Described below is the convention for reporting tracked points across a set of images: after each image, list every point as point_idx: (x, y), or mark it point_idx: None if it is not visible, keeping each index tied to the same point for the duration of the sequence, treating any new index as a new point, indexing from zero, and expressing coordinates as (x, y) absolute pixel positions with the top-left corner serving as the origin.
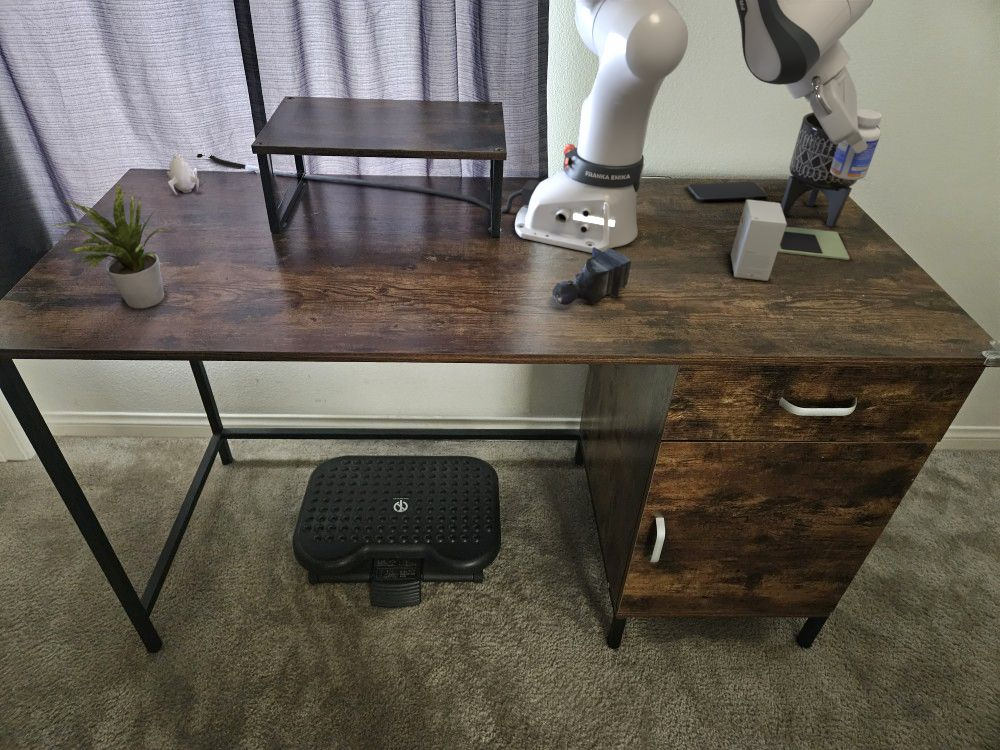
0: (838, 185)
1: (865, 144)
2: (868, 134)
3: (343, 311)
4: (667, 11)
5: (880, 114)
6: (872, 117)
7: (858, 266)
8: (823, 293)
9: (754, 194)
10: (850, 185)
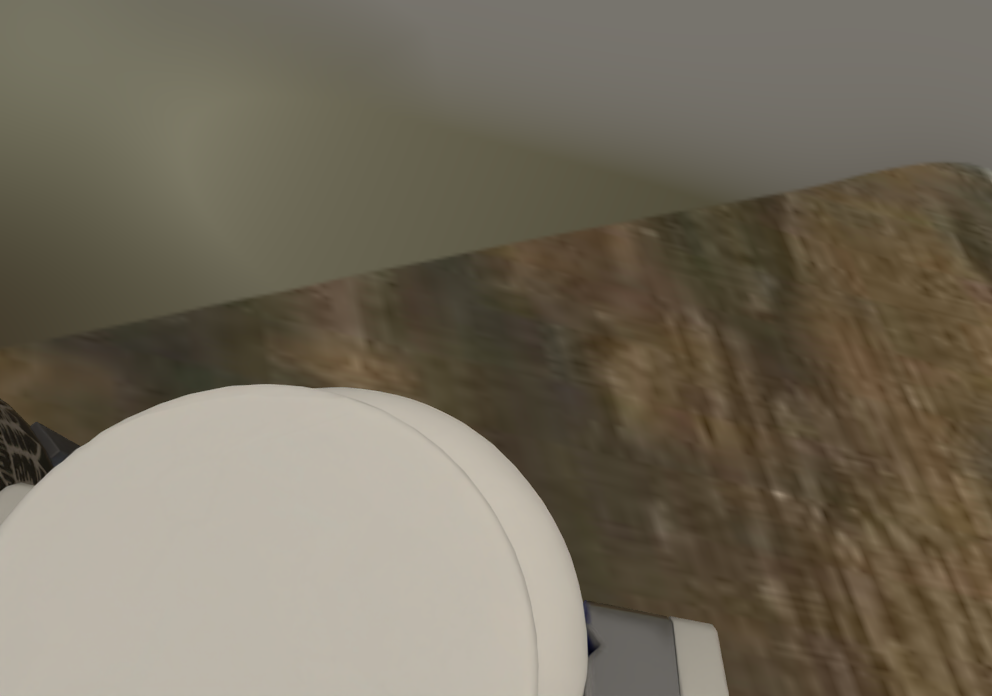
0: None
1: (719, 665)
2: (563, 616)
3: None
4: None
5: (283, 410)
6: (495, 630)
7: (527, 457)
8: (827, 670)
9: None
10: (36, 436)
